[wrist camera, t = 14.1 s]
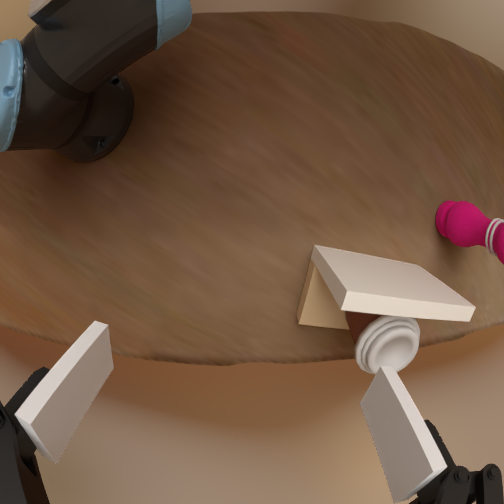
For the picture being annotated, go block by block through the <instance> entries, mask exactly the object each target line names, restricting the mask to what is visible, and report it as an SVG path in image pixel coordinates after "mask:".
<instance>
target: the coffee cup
mask: <svg viewBox="0 0 504 504" xmlns="http://www.w3.org/2000/svg"><path fill="white" fill-rule="evenodd" d="M344 317H345V319H346V321H347V324H348V326H349V329H350V332H351V335H352V337H353V340H354V343H355V347H354V350H355V360H356V362H357V364H358V365H359V367H360V368H361V369H362V370H364V371H366V372H368V373H370V374H376V373H377V371H378V370H379V368H380V366H393V368H394V369H395V371H396V373H397V372H398V371H400V370H402V369H403V368H405V367H406V366H407V365H408V364H409V363H410V361H412V360H413V358H414V356H415V354H416V352H417V350H418V346H419V337H420V329H419V326H418V323H417V321H416V320H415V318H413V317H402V316H391V315H381V314H372V313H363V312H354V311H346V310H344Z"/></svg>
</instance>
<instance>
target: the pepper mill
mask: <svg viewBox="0 0 504 504" xmlns="http://www.w3.org/2000/svg"><path fill="white" fill-rule="evenodd" d="M436 227H437V230H438V232H439V233H440V234H441V235H442V236H444V237H447V238H449V239H450V241H451V242H452V243H453V244H455V245H457V246H460V247H471V246H475V245H481V246H484V247H486V248H487V250H488V252H489V253H490V254H493V255H494V256H497V257H498V259H499V260H500V262H502V263H503V264H504V220H501V219H500V218H496V219H494V220H491V219H488V218H487V217H486V216H485V215H484V214H483V213H482V212H481V211H480V210H479V209H478V208H477V207H476V206H475V205H473V204H471V203H469V202H466V201H459V202H454V201H445V202H444V203H442V204H441V205H440V207H439V208H438V211H437V213H436Z"/></svg>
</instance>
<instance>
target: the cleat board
mask: <svg viewBox="0 0 504 504" xmlns="http://www.w3.org/2000/svg"><path fill="white" fill-rule="evenodd" d="M475 308H476V307H475V306H474V305H472V304H471V303H470V302H468V301H467V300H466V299H464V298H463V297H462V296H461V295H459V294H458V293H457V292H455V291H454V290H452V289H451V288H450V287H448V286H447V285H446V284H444V283H443V282H441V281H440V280H439V279H437V278H436V277H434V276H433V275H432V274H430V273H429V272H427V271H426V270H424V269H423V268H422V267H420V266H419V265H415V264H410V263H406V262H401V261H396V260H391V259H386V258H381V257H376V256H371V255H365V254H360V253H355V252H350V251H345V250H339V249H334V248H329V247H324V246H318V245H314V247H313V252H312V256H311V260H310V264H309V268H308V272H307V276H306V280H305V284H304V287H303V291H302V295H301V299H300V302H299V306H298V310H297V313H296V315H297V319H298V323H299V324H303V325H311V326H319V327H328V328H338V329H348V330H350V329H349V326H348V324H347V321H346V319H345V317H344V310H346V311H354V312H363V313H372V314H381V315H391V316H402V317H413V318H425V319H438V320H453V321H470V319H471V317H472V315H473V312H474V310H475Z"/></svg>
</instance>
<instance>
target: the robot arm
mask: <svg viewBox="0 0 504 504" xmlns="http://www.w3.org/2000/svg"><path fill="white" fill-rule="evenodd" d="M28 16H29V17H30V18H31V19H32V20H33V21H34V22H35V23H36V24H37V25H36V26H35V27H34V28H33V29H32V30H31V31H30V32H29V33H28V34H27V36H25V37H24V39H22V40H21V41H20V42H19V40H17V39H14V38H13V39H7V40H5V41H3V42H1V43H0V152H4V151H11V150H33V149H53V150H55V151H56V152H58V153H59V154H61V155H63V156H64V157H66V158H68V159H70V160H74V161H93V160H97V159H99V158H101V157H103V156H105V155H107V154H108V153H109V152H111V151H112V150H113V149H114V148H115V147H116V146H117V145H118V144H119V142H120V141H121V140H122V138H123V137H124V135H125V133H126V131H127V129H128V127H129V125H130V122H131V119H132V114H133V106H134V102H133V94H132V90H131V88H130V86H129V84H128V83H127V81H126V80H125V79H124V78H123V77H122V76H120V75H118V73H119V72H121V71H122V70H124V69H125V68H127V67H128V66H129V65H131V64H132V63H134V62H135V61H137V60H138V59H140V58H142V57H143V56H145V55H146V54H148V53H150V52H151V51H153V50H157V49H159V48H160V47H161V45H162V44H164V43H165V42H167V41H169V40H170V39H172V38H174V37H175V36H177V35H179V34H181V33H182V32H184V31H185V30H186V29H187V28H188V27H189V25H190V22H191V19H192V9H191V4H190V0H31V2H30V7H29V12H28ZM113 368H114V366H113V360H112V353H111V345H110V337H109V328H108V325H107V324H104V323H101V322H97V321H94V322H93V323H92V324H91V325H90V326H89V327H88V328H87V330H86V331H85V332H84V333H83V334H82V335H81V336H80V337H79V338H78V339H77V340H76V342H75V343H74V344H73V345H72V346H71V347H70V348H69V349H68V350H67V352H66V353H65V354H64V355H63V356H62V357H61V359H60V360H59V361H58V362H57V363H56V364H55V365H54V366H53V368H52V369H51V370H49V369H47V368H45V367H42V368H40V369H39V370H37V371H35V372H34V373H33V374H32V375H31V376H30V377H29V378H28V381H26V382H25V383H24V384H23V387H21V388H20V389H19V390H18V391H17V392H16V393H15V395H14V396H13V397H12V399H10V401H9V402H8V403H7V404H6V406H5V407H3V405H2V403H1V401H0V504H50V503H49V500H48V497H47V494H46V491H45V488H44V485H43V482H42V478H41V475H40V471H39V467H38V464H37V460H36V456H35V454H34V452H35V450H36V449H38V450H39V452H40V453H41V455H42V456H44V457H45V458H47V459H49V460H51V461H52V462H54V463H56V464H57V463H58V461H59V460H60V458H61V456H62V454H63V452H64V450H65V448H66V446H67V445H68V443H69V441H70V440H71V438H72V436H73V434H74V432H75V431H76V429H77V427H78V426H79V424H80V422H81V420H82V419H83V417H84V415H85V414H86V412H87V410H88V408H89V407H90V405H91V404H92V402H93V400H94V399H95V397H96V395H97V394H98V392H99V390H100V389H101V387H102V386H103V384H104V382H105V381H106V379H107V378H108V376H109V375H110V373H111V371H112V370H113ZM360 406H361V408H362V411H363V414H364V416H365V419H366V422H367V425H368V427H369V430H370V433H371V436H372V438H373V441H374V444H375V447H376V450H377V453H378V455H379V458H380V461H381V464H382V467H383V470H384V473H385V476H386V479H387V482H388V485H389V489H390V492H391V495H392V498H393V501H394V503H397V502H400V501H404V500H407V499H409V498H410V497H412V496H413V495H414V494H416V493H417V496H418V498H416V499H415V500H413V501H412V502H410V503H409V504H472V503H473V502H475V501H476V504H504V500H503V486H502V476H501V471H500V469H499V468H498V466H496V465H495V464H488V465H486V466H485V467H484V468H483V469H482V470H481V471H473V472H469V471H468V470H467V468H465V467H463V466H456V465H455V463H454V461H453V459H452V458H451V456H450V454H449V452H448V450H447V448H446V446H445V444H444V443H443V442H442V438H441V437H440V436H439V433H438V431H437V429H436V427H435V426H434V425H433V424H432V423H431V422H430V421H429V420H423V418H422V417H421V415H420V413H419V411H418V409H417V407H416V406H415V404H414V402H413V400H412V398H411V397H410V395H409V393H408V392H407V390H406V388H405V387H404V385H403V383H402V381H401V379H400V378H399V376H398V375H397V373H396V371H395V369H394V368H393V366H380V368H379V370H378V371H377V373H376V375H375V377H374V379H373V381H372V383H371V385H370V386H369V388H368V390H367V392H366V394H365V395H364V397H363V399H362V400H361V402H360Z"/></svg>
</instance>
